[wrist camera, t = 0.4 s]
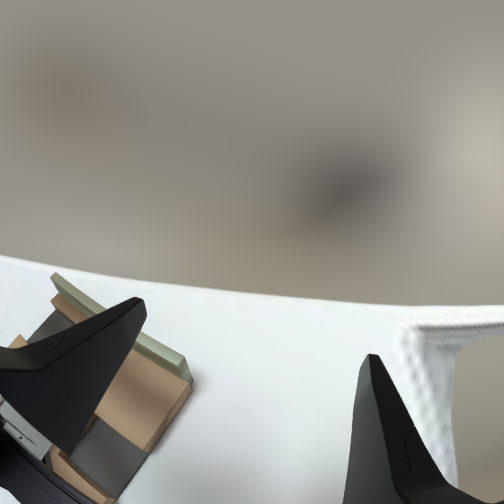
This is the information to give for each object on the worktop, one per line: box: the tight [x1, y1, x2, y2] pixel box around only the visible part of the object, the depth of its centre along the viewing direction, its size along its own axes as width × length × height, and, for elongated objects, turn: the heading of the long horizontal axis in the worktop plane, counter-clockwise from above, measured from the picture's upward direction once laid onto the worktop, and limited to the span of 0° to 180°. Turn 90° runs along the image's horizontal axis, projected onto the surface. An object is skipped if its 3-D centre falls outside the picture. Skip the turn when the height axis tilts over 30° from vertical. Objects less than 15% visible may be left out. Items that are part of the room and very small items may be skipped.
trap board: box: [8, 272, 193, 504], centre depth 19 cm, size 20×20×5 cm
